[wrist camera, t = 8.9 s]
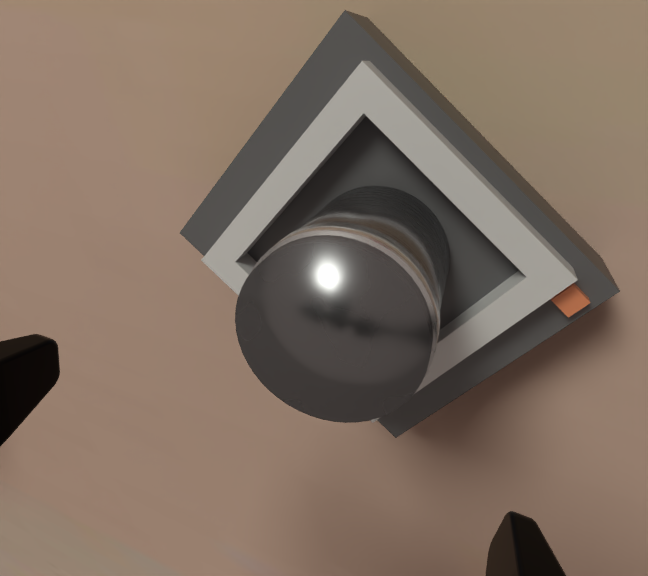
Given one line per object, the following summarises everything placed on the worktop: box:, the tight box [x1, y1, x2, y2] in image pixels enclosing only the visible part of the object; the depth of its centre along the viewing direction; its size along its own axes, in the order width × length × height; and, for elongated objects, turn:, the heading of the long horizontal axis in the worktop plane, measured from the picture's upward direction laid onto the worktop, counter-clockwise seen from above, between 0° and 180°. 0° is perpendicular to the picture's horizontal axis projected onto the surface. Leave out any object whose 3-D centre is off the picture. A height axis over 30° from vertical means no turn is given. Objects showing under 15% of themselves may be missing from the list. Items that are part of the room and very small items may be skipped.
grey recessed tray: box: [180, 10, 620, 438], centre depth 18 cm, size 12×10×4 cm
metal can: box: [235, 186, 450, 423], centre depth 15 cm, size 5×5×6 cm
